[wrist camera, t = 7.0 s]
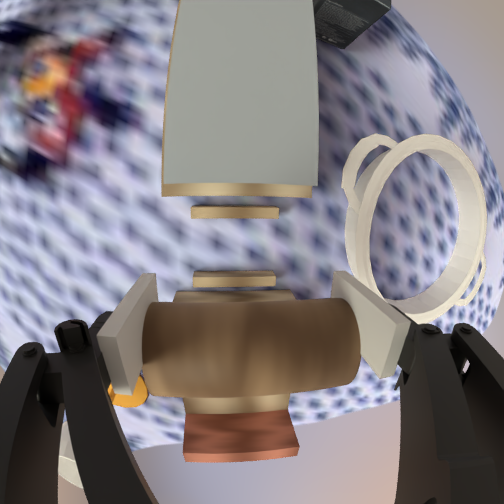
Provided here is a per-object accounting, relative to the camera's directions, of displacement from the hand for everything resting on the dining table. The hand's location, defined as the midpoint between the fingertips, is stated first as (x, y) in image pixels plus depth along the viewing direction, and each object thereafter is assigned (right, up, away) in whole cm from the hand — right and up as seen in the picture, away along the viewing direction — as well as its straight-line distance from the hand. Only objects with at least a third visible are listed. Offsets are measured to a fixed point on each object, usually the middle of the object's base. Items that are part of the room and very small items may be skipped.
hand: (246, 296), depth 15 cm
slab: (-1, +16, +4) cm, 16 cm away
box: (+9, +29, +7) cm, 32 cm away
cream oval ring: (+20, +5, +15) cm, 26 cm away
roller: (0, 0, 0) cm, 1 cm away
